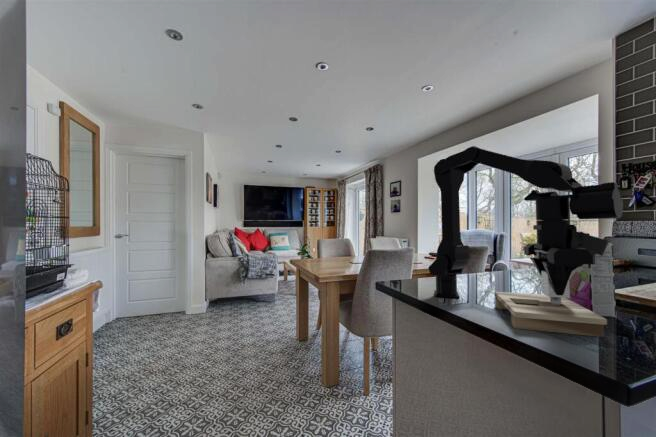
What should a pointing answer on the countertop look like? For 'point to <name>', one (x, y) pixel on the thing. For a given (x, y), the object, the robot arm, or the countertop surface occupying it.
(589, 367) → the countertop surface
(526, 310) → the keyhole plate
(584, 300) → the candy bar box
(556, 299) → the peg
